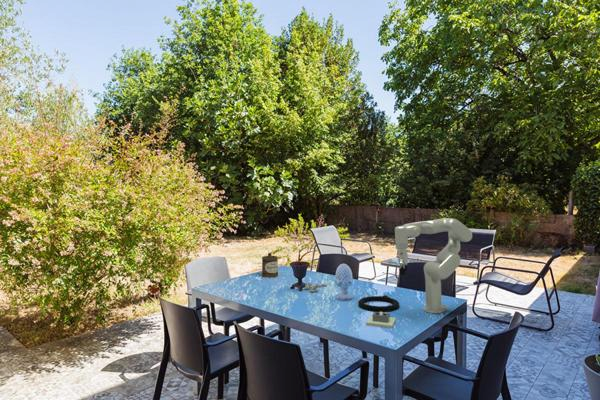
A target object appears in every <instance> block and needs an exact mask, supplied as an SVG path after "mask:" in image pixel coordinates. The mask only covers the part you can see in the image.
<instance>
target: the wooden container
mask: <svg viewBox="0 0 600 400" xmlns="http://www.w3.org/2000/svg"><path fill="white" fill-rule="evenodd" d="M278 262H279V261H278V256H277V255H273V254H272V252H268V253H267V255H264V256H262V257H261V267H262V268H261V274H262V275H261V276H262V277H263V278H265V277H269V278H268V279H271V277H273V278H277V277H279V265H278Z"/></svg>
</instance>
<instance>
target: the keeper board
mask: <svg viewBox="0 0 600 400" xmlns="http://www.w3.org/2000/svg"><path fill="white" fill-rule="evenodd" d="M383 313H384V312H380V315H383ZM396 321H397V318H396V317H391V316H390V320H389V322H388V323H387V322H378V321H373V314H372V315H371V314H370V316H369V318H368V319H367V320H366V322H365V325H366V326H369V327H370V326H371V327H380V328H388V329H394V325H395V324H396Z"/></svg>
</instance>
